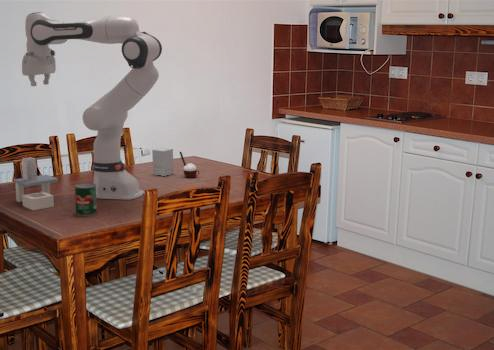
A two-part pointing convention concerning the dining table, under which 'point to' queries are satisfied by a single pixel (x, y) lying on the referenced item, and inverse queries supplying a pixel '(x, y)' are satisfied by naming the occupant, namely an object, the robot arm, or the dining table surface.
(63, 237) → the dining table surface
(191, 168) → the cocoa
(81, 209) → the canned tomato
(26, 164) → the metal peg
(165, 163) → the grey fluted block
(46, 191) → the awning stand
